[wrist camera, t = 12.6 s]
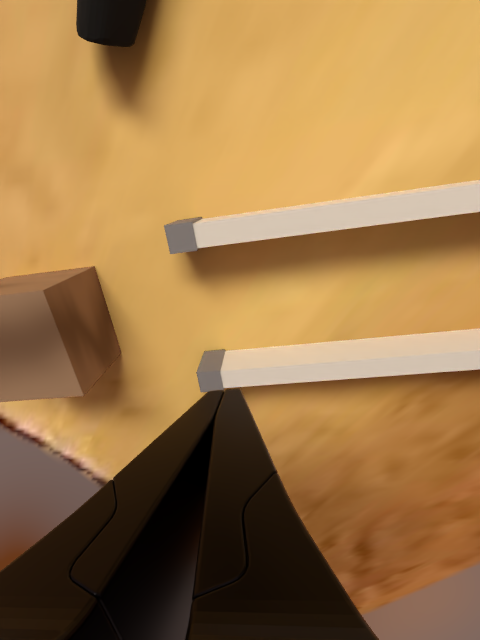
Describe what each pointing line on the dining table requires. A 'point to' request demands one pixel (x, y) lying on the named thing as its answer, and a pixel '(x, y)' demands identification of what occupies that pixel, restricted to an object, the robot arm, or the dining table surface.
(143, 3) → the electric trimmer
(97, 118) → the dining table surface
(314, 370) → the chute
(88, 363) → the walnut block
